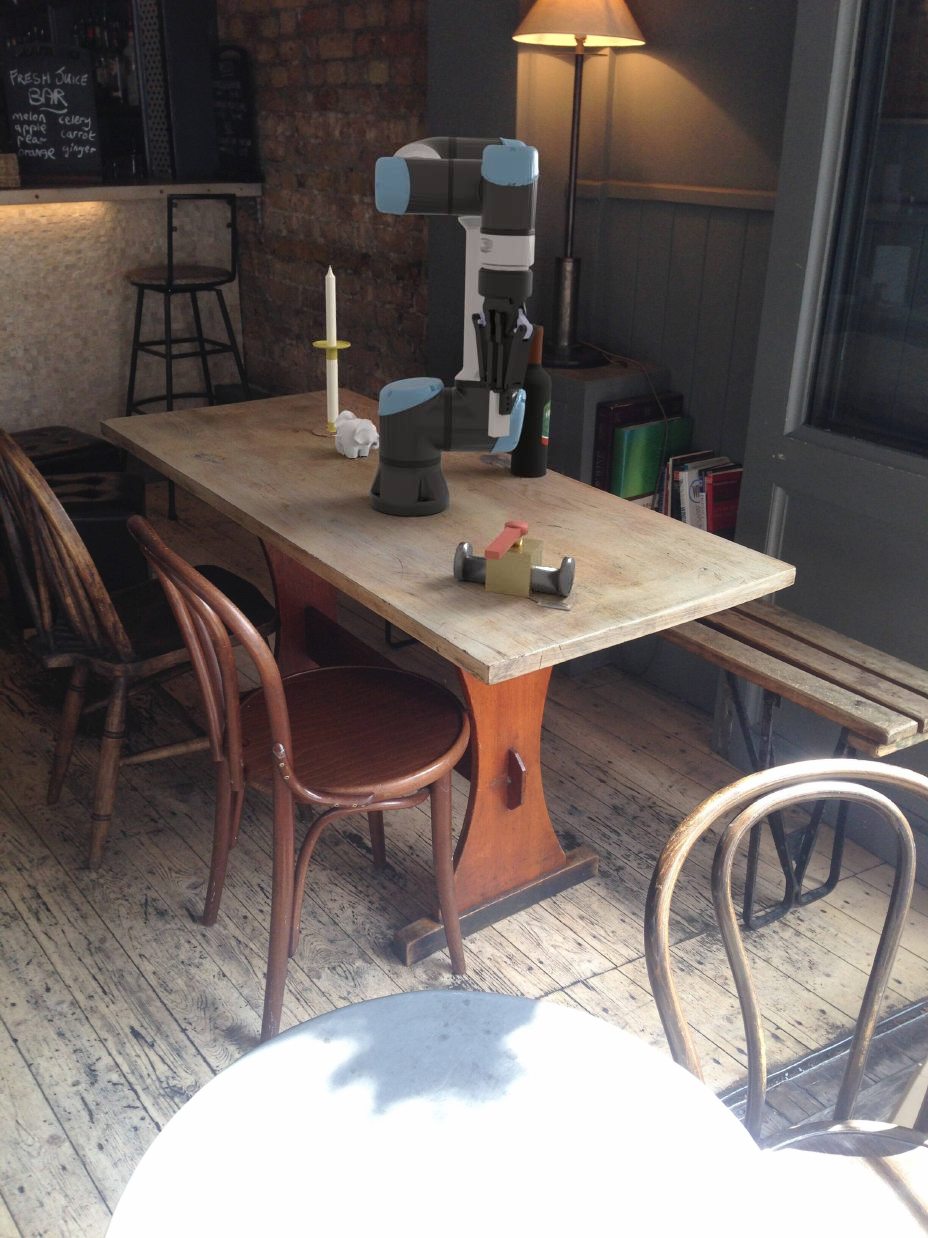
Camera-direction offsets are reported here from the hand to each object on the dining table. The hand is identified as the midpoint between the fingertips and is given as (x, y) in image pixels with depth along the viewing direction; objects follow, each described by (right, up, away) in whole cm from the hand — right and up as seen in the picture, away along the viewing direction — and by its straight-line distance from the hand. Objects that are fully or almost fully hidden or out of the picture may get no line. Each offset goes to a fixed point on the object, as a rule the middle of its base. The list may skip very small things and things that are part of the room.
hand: (498, 435), depth 160 cm
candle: (-36, +17, +96) cm, 103 cm away
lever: (+1, -16, +3) cm, 16 cm away
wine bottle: (+8, +4, +70) cm, 70 cm away
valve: (+3, -22, +10) cm, 25 cm away
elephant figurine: (-28, +9, +79) cm, 84 cm away
